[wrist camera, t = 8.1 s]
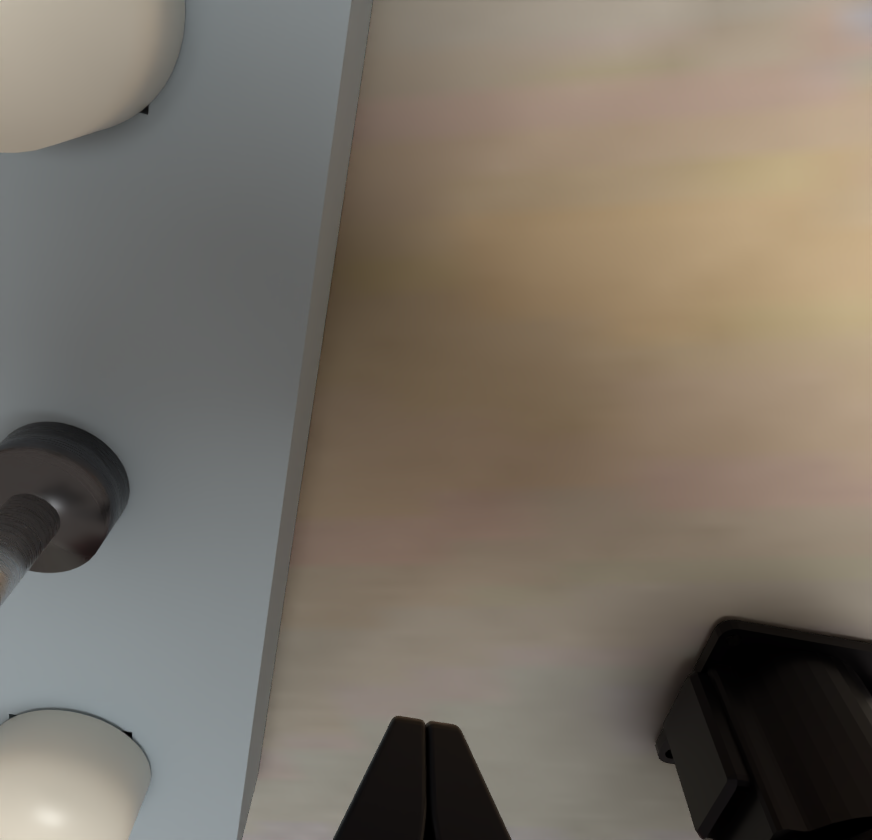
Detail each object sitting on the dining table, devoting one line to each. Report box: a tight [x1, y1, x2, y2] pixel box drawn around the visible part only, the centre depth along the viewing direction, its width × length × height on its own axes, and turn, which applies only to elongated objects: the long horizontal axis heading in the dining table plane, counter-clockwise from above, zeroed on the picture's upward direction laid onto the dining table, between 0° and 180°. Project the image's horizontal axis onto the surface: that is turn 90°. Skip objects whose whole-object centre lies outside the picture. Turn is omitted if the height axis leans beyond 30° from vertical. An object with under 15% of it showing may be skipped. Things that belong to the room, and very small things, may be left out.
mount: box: [0, 0, 373, 840], centre depth 19 cm, size 10×30×4 cm, turn 168°
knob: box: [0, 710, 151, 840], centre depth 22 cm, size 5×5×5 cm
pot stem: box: [0, 422, 130, 607], centre depth 15 cm, size 3×3×6 cm
